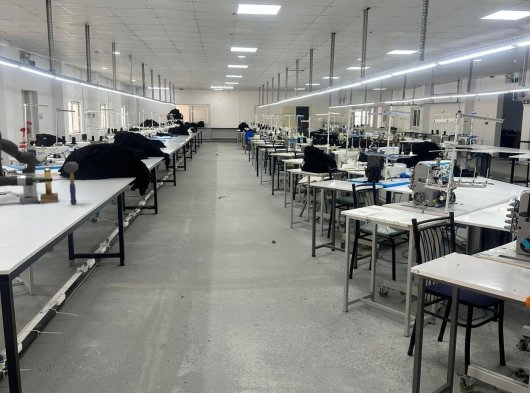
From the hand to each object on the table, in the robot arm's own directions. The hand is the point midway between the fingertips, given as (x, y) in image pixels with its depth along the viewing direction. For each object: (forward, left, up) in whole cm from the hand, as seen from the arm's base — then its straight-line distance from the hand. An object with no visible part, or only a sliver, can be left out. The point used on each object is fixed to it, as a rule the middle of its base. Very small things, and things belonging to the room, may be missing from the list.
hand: (52, 179), depth 310 cm
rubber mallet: (+18, +13, -16) cm, 27 cm away
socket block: (0, -16, -16) cm, 22 cm away
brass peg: (0, -3, -10) cm, 10 cm away
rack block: (0, -3, -16) cm, 16 cm away
